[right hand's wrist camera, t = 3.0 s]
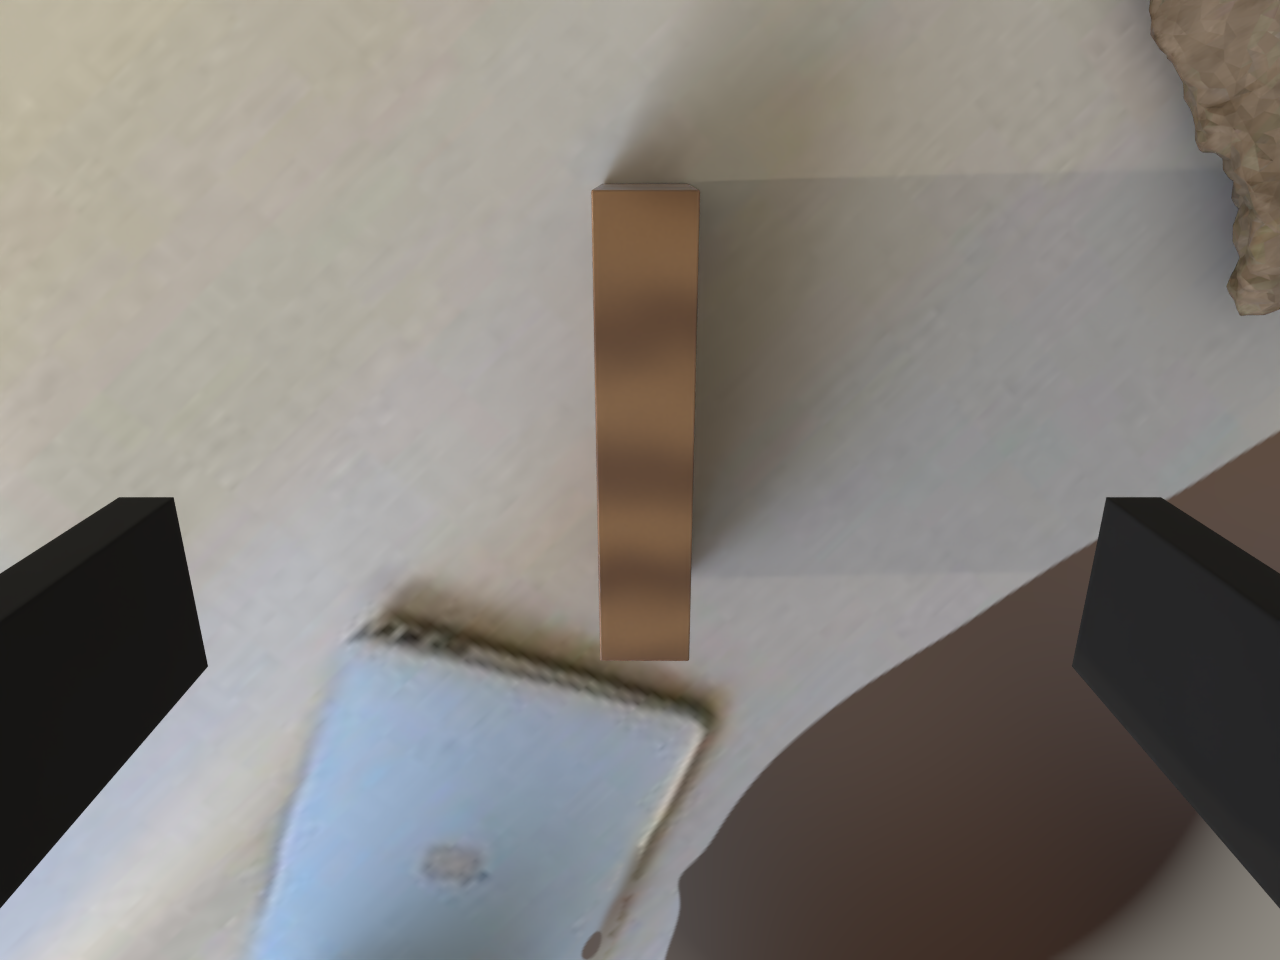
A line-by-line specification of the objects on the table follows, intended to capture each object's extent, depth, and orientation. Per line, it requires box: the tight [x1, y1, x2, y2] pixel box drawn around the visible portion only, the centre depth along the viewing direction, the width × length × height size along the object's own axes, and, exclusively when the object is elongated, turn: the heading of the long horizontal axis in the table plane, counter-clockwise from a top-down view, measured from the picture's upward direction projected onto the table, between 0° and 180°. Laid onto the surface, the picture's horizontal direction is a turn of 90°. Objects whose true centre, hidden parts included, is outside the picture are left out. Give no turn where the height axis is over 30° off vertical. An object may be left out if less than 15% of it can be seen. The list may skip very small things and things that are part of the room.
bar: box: [591, 184, 700, 661], centre depth 44 cm, size 23×4×9 cm, turn 0°
